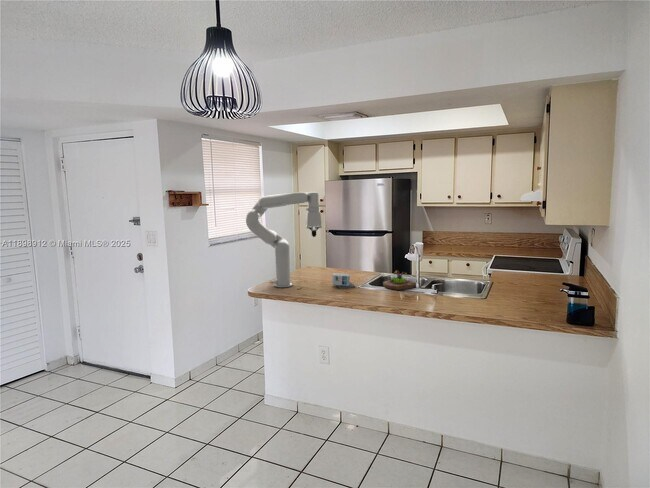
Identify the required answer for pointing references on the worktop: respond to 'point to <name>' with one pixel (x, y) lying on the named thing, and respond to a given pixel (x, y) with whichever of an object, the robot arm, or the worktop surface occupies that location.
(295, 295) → the worktop surface
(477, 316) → the worktop surface
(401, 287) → the plant
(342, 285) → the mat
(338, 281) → the light bulb box
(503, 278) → the worktop surface
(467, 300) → the worktop surface
